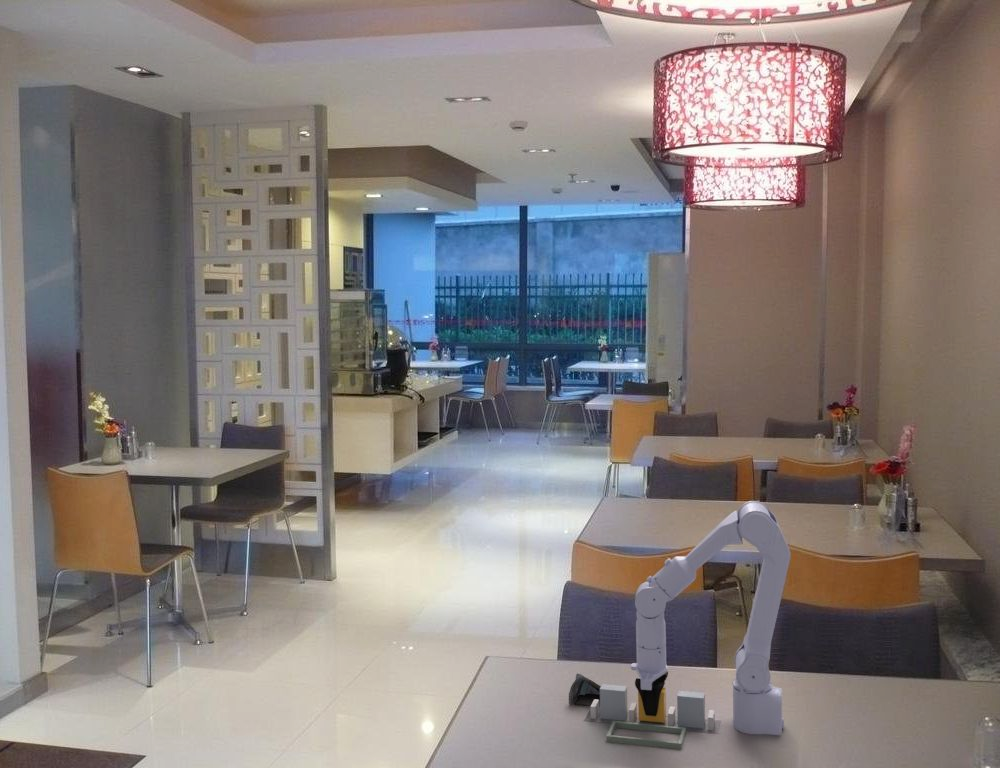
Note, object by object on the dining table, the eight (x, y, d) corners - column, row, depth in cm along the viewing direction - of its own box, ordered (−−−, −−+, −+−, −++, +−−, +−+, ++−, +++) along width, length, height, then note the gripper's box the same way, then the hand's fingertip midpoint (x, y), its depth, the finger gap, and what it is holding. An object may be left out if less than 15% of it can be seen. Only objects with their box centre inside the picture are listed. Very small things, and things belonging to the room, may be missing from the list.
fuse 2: (705, 722, 198) (704, 693, 197) (703, 728, 195) (703, 698, 195) (679, 720, 199) (678, 690, 199) (677, 725, 197) (677, 695, 196)
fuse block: (721, 725, 199) (720, 708, 198) (718, 738, 193) (718, 721, 193) (590, 713, 206) (590, 696, 206) (584, 725, 201) (583, 708, 200)
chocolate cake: (633, 704, 212) (594, 659, 215) (630, 707, 205) (590, 661, 208) (600, 735, 212) (561, 689, 215) (596, 739, 205) (556, 692, 209)
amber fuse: (666, 717, 200) (665, 687, 199) (664, 722, 197) (663, 692, 197) (640, 714, 201) (640, 685, 201) (638, 720, 199) (638, 690, 198)
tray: (685, 737, 194) (685, 727, 194) (681, 754, 187) (681, 743, 187) (613, 730, 198) (613, 720, 198) (606, 746, 191) (606, 735, 191)
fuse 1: (627, 715, 202) (627, 686, 202) (625, 720, 200) (624, 691, 199) (602, 713, 204) (602, 684, 203) (600, 718, 201) (599, 689, 201)
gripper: (636, 630, 206) (637, 695, 207) (624, 655, 192) (625, 725, 194) (671, 633, 204) (672, 698, 205) (661, 658, 190) (662, 728, 192)
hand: (652, 711), depth 199 cm, fingers closed on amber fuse, 3 cm apart
